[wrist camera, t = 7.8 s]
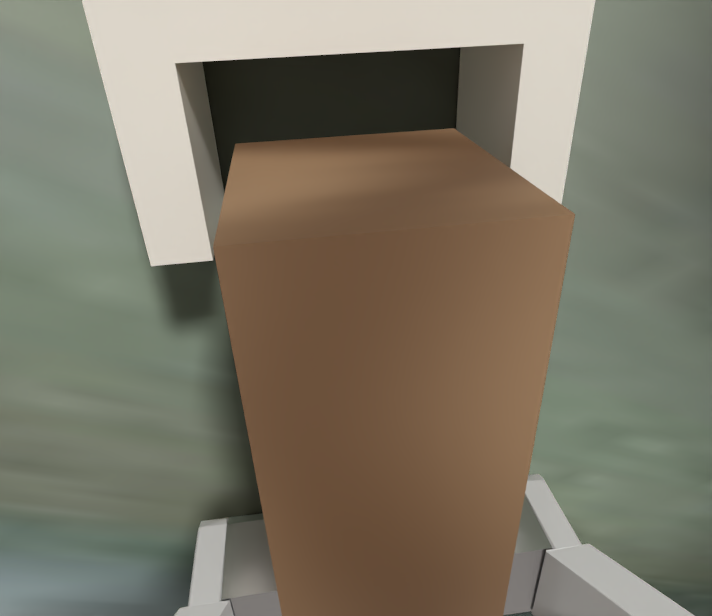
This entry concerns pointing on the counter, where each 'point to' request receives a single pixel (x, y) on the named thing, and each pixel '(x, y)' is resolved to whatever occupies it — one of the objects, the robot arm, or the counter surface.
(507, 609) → the robot arm
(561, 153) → the cap
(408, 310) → the slat
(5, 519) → the counter surface
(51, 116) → the counter surface
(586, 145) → the counter surface
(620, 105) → the counter surface
